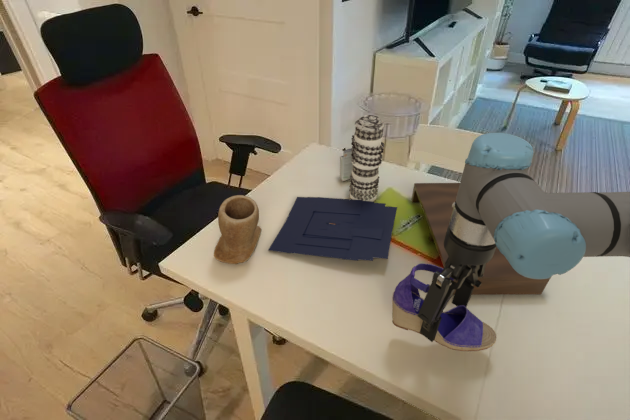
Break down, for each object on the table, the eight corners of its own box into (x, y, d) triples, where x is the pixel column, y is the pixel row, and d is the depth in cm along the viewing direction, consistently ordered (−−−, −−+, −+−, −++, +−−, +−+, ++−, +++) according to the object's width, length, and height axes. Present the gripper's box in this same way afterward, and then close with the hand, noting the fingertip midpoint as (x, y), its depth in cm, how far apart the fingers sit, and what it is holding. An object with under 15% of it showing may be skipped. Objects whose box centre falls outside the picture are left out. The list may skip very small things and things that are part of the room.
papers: (386, 272, 88) (386, 261, 85) (269, 258, 96) (267, 248, 94) (397, 210, 106) (398, 200, 104) (298, 203, 115) (297, 193, 112)
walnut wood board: (541, 294, 84) (551, 276, 80) (444, 294, 84) (449, 277, 80) (484, 199, 112) (489, 182, 109) (411, 199, 112) (414, 183, 109)
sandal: (494, 364, 66) (523, 311, 57) (384, 330, 72) (395, 277, 63) (494, 328, 72) (520, 275, 63) (393, 298, 78) (403, 246, 69)
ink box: (368, 170, 125) (371, 139, 118) (372, 173, 124) (375, 142, 116) (338, 178, 122) (339, 146, 114) (341, 181, 120) (343, 150, 113)
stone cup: (254, 270, 90) (247, 223, 81) (209, 263, 92) (196, 216, 83) (272, 230, 102) (268, 184, 92) (231, 224, 104) (223, 179, 94)
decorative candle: (343, 190, 116) (346, 114, 101) (369, 184, 119) (377, 109, 103) (355, 206, 110) (362, 128, 94) (383, 199, 112) (394, 123, 97)
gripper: (488, 193, 65) (458, 279, 79) (408, 252, 54) (389, 341, 67) (531, 213, 60) (492, 301, 74) (453, 282, 49) (424, 371, 63)
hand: (443, 320), depth 71 cm, fingers closed on sandal, 10 cm apart
